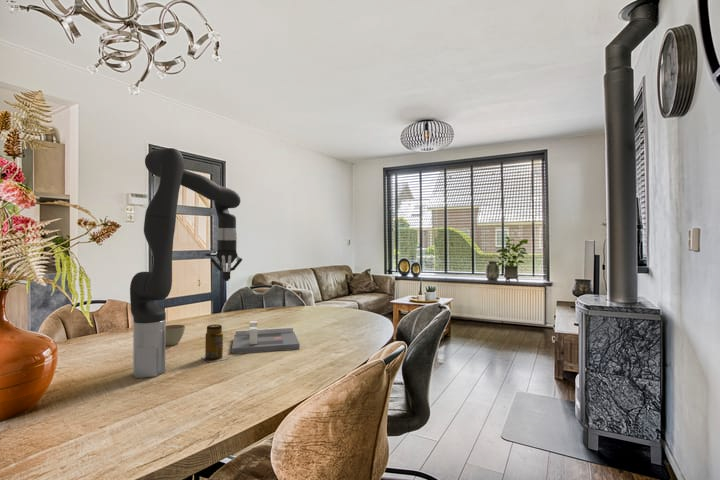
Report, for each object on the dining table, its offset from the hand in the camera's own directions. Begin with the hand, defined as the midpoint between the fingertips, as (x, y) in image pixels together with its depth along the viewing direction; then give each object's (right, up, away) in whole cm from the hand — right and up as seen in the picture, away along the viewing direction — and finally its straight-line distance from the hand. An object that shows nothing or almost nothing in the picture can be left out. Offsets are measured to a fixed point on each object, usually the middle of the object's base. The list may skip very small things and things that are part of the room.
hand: (226, 280), depth 156 cm
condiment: (+2, -27, -17) cm, 32 cm away
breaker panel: (+16, -27, +3) cm, 31 cm away
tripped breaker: (+12, -25, -5) cm, 28 cm away
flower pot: (-24, -27, +2) cm, 36 cm away
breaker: (+9, -25, +7) cm, 27 cm away
